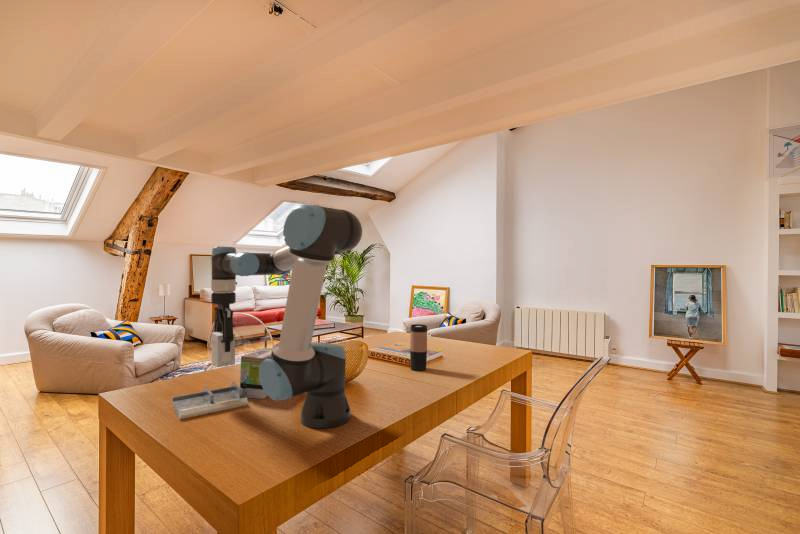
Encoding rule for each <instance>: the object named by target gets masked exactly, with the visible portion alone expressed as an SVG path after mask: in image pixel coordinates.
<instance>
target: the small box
mask: <svg viewBox="0 0 800 534" xmlns="http://www.w3.org/2000/svg"><path fill="white" fill-rule="evenodd" d="M227 338H228V337H227ZM233 338H234V339H233V341H232V342H231V361H227V362H222V343H221V341H222V340H223V334H222V332H214V331H213V332H211V363H212V364H213V365H214V366H215V367H216V368H221V367H227V366H233V365H235V364H236V334H235V333H233Z"/></svg>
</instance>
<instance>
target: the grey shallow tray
mask: <svg viewBox="0 0 800 534" xmlns="http://www.w3.org/2000/svg"><path fill="white" fill-rule="evenodd" d="M230 384H231V385H230V386H227V387H221V388H220V387H219V388H214V389H209V388H208V386H204V387H203V391H198V392H192V393H188V394H181V395H176V396H172V397H171V399H172V401H171V403H172V408H173V410H174V412H175V413H176V416H177V417H178V419H179V420H183V419H189V418H194V417H197V416H202V415H206V414H207V415H208V414H211V413H216V412H221V411H224V410H230V409H235V408H238V407H239V408H240V407H245V406H248V398H247V397H244V396H243V389H241V388H240V385H238V384H237V383H236V382H235V381H233V382H231V383H230Z"/></svg>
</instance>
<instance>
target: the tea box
mask: <svg viewBox="0 0 800 534" xmlns="http://www.w3.org/2000/svg"><path fill="white" fill-rule="evenodd" d="M271 353H272V348H265V347H262V348H260V349H257V350H254V351H252V352H250V353H247V354H244V355H241V357H240V376H239V377H240V378H239V380H240V381H239V387H240V388H241V389H243V396H244V397H247V399H258V400H259V399H260V400H264V399H266V398H268V397H269V396H268V395H267V394H266V393H265V391H264V390H263V387H262V385H261V382H260V377H259V368H260V365H261V363H262V362H263V361H264V360H266V359H267V358H271Z"/></svg>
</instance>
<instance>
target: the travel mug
mask: <svg viewBox="0 0 800 534" xmlns="http://www.w3.org/2000/svg"><path fill="white" fill-rule="evenodd" d="M409 343H410V346H409V347H410V348H409V349H410V350H409V351H410V352H409V354H410V357H409V358H410V370H411V371H414V372H425V371H426V370H427V357H428V325H426V324H421V323H420V324H419V323H418V324H411V325H410V341H409Z"/></svg>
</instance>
